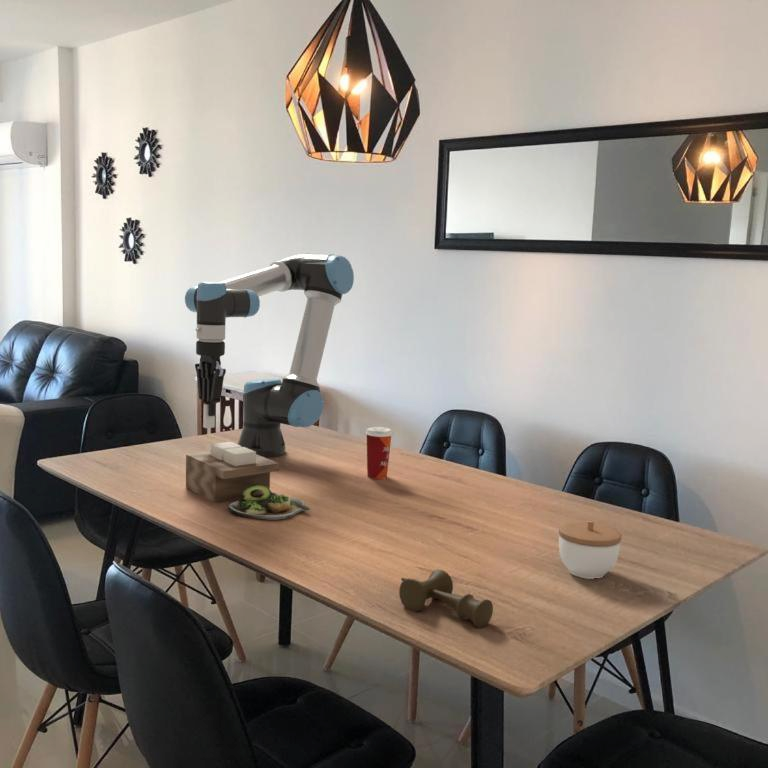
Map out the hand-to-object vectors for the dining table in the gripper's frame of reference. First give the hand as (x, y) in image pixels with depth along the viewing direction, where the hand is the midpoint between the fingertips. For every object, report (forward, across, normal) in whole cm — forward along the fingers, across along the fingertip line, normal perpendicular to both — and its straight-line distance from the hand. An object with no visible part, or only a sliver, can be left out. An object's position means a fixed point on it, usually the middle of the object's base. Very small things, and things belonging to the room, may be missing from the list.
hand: (208, 427), depth 227 cm
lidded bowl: (+15, +101, +34) cm, 107 cm away
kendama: (+16, +97, -4) cm, 98 cm away
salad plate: (+16, +29, 0) cm, 33 cm away
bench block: (+15, +12, 0) cm, 19 cm away
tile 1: (+6, +9, 0) cm, 11 cm away
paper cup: (+15, +20, +44) cm, 50 cm away
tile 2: (+6, +16, 0) cm, 17 cm away
